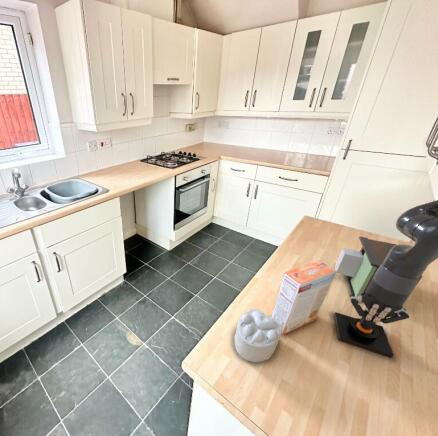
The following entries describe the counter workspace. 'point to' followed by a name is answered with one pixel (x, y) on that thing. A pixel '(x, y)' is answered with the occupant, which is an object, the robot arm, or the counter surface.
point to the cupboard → (373, 255)
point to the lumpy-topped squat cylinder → (257, 336)
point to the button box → (362, 335)
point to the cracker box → (302, 295)
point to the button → (363, 329)
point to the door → (355, 269)
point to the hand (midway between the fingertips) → (364, 326)
